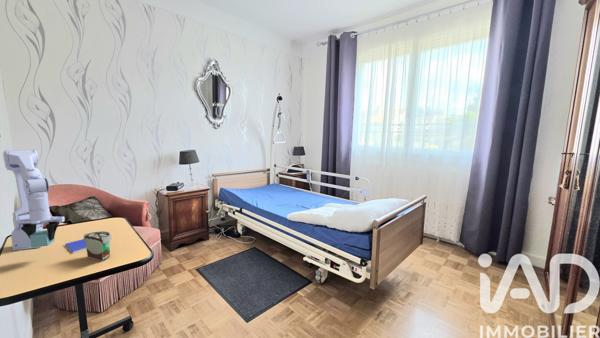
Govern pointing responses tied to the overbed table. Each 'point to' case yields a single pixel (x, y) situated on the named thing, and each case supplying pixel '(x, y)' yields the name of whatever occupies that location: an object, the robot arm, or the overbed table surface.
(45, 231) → the cube
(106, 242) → the food container
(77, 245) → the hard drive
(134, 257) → the overbed table surface
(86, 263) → the overbed table surface
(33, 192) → the robot arm
